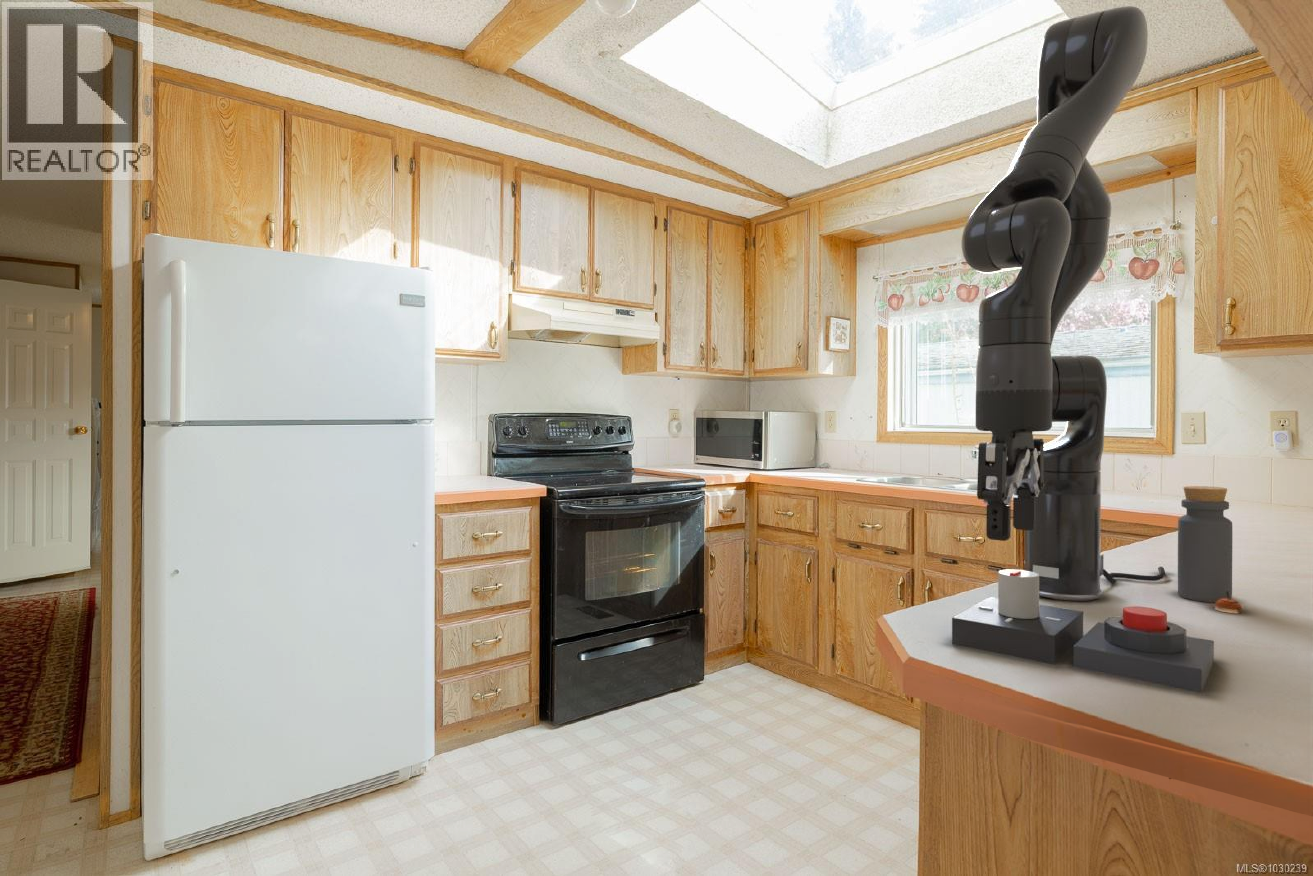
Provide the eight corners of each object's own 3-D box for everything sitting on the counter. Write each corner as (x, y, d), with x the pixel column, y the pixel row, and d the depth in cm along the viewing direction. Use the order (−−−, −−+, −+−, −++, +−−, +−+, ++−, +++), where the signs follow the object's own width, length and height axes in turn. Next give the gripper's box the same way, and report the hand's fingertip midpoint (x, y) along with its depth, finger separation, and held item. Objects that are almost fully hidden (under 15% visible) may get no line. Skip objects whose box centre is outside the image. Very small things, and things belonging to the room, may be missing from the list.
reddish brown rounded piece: (1208, 608, 90) (1208, 587, 90) (1226, 606, 91) (1226, 586, 91) (1231, 614, 88) (1231, 592, 88) (1250, 612, 88) (1250, 591, 88)
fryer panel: (988, 621, 85) (988, 595, 85) (1083, 638, 79) (1083, 609, 79) (951, 645, 77) (951, 616, 77) (1054, 666, 70) (1054, 634, 70)
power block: (1097, 641, 77) (1098, 605, 77) (1213, 662, 70) (1214, 622, 70) (1073, 668, 69) (1073, 627, 69) (1201, 694, 62) (1201, 649, 62)
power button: (1126, 621, 72) (1126, 604, 72) (1169, 627, 70) (1169, 610, 70) (1119, 628, 70) (1119, 611, 70) (1163, 636, 67) (1163, 617, 67)
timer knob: (1005, 607, 80) (1005, 565, 80) (1044, 613, 78) (1044, 570, 77) (992, 614, 78) (992, 570, 77) (1032, 621, 75) (1032, 576, 75)
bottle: (1242, 603, 92) (1242, 489, 92) (1191, 602, 94) (1192, 489, 93) (1216, 593, 98) (1217, 485, 98) (1169, 591, 99) (1169, 485, 99)
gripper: (1029, 385, 70) (1028, 548, 70) (1069, 387, 80) (1067, 529, 80) (953, 387, 75) (952, 539, 75) (999, 389, 85) (998, 523, 86)
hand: (1011, 534), depth 78 cm, fingers open, 8 cm apart
